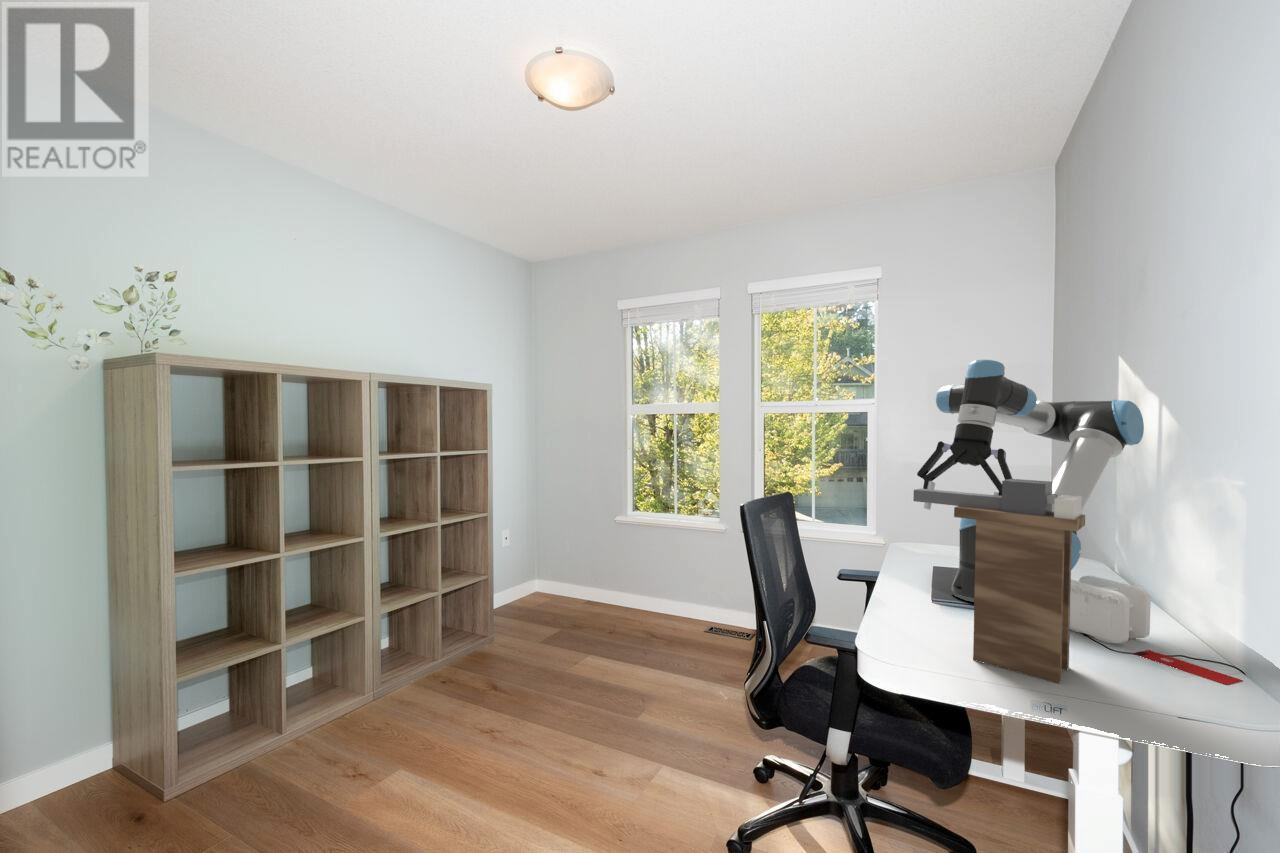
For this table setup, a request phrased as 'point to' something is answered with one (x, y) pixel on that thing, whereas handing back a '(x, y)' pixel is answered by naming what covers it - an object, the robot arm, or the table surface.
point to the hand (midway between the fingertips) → (958, 515)
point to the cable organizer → (1109, 609)
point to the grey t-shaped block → (999, 497)
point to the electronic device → (1189, 667)
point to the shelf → (1022, 590)
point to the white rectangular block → (1067, 507)
